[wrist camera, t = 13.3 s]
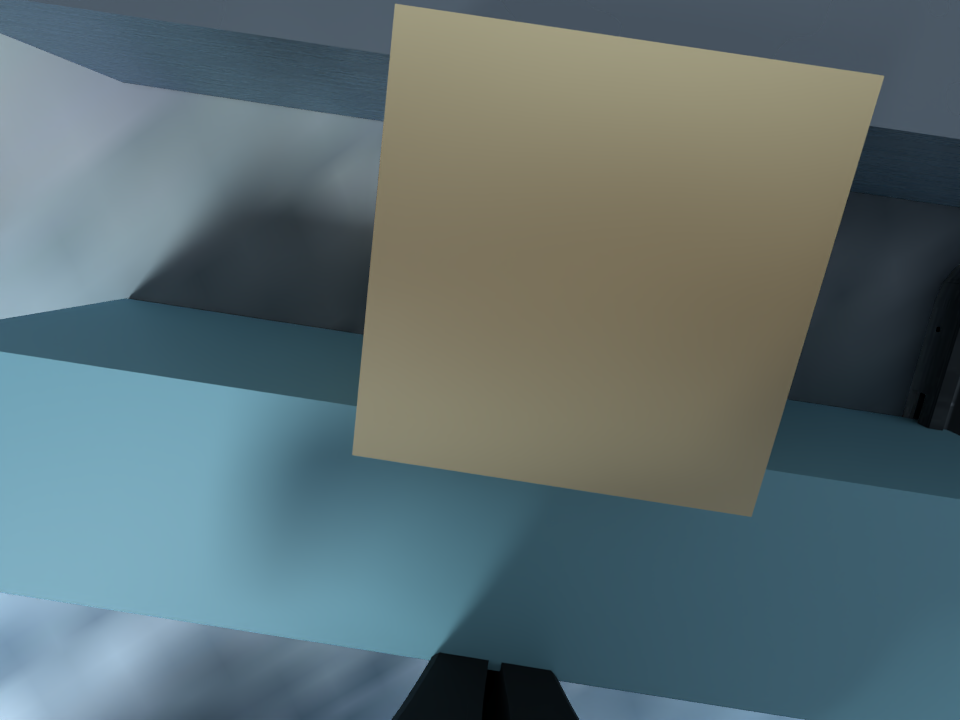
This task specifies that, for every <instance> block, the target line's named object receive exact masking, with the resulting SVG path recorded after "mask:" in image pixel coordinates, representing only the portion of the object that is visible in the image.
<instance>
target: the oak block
mask: <svg viewBox="0 0 960 720" xmlns="http://www.w3.org/2000/svg"><path fill="white" fill-rule="evenodd" d="M883 79H884V76H882V75H876V74H869V73H862V72H855V71H849V70H842V69H835V68H828V67H821V66H815V65H808V64H801V63H794V62H788V61H781V60H774V59H767V58H760V57H754V56H747V55H740V54H733V53H726V52H720V51H713V50H706V49H699V48H693V47H686V46H679V45H672V44H665V43H659V42H652V41H645V40H638V39H632V38H625V37H618V36H611V35H604V34H598V33H591V32H584V31H577V30H571V29H564V28H557V27H550V26H543V25H537V24H530V23H523V22H516V21H509V20H503V19H496V18H489V17H482V16H476V15H469V14H462V13H455V12H448V11H442V10H435V9H428V8H421V7H415V6H408V5H401V4H395V9H394V19H393V30H392V40H391V51H390V61H389V72H388V82H387V93H386V104H385V114H384V125H383V135H382V146H381V156H380V167H379V177H378V188H377V198H376V209H375V219H374V230H373V241H372V251H371V262H370V272H369V283H368V293H367V304H366V314H365V325H364V335H363V346H362V357H361V367H360V378H359V388H358V399H357V409H356V420H355V430H354V441H353V451H352V455H355V456H361V457H368V458H374V459H381V460H387V461H393V462H400V463H406V464H413V465H419V466H426V467H432V468H439V469H445V470H452V471H458V472H465V473H471V474H477V475H484V476H490V477H497V478H503V479H510V480H516V481H523V482H529V483H536V484H542V485H548V486H555V487H561V488H568V489H574V490H581V491H587V492H594V493H600V494H607V495H613V496H620V497H626V498H632V499H639V500H645V501H652V502H658V503H665V504H671V505H678V506H684V507H691V508H697V509H704V510H710V511H716V512H723V513H729V514H736V515H742V516H749V517H752V514H753V510H754V507H755V504H756V500H757V497H758V494H759V490H760V487H761V484H762V480H763V477H764V474H765V470H766V467H767V464H768V461H769V457H770V454H771V451H772V447H773V444H774V441H775V437H776V434H777V431H778V427H779V424H780V421H781V417H782V414H783V411H784V407H785V404H786V401H787V397H788V394H789V391H790V388H791V384H792V381H793V378H794V374H795V371H796V368H797V364H798V361H799V358H800V354H801V351H802V348H803V344H804V341H805V338H806V334H807V331H808V328H809V324H810V321H811V318H812V315H813V311H814V308H815V305H816V301H817V298H818V295H819V291H820V288H821V285H822V281H823V278H824V275H825V271H826V268H827V265H828V261H829V258H830V255H831V251H832V248H833V245H834V242H835V238H836V235H837V232H838V228H839V225H840V222H841V218H842V215H843V212H844V208H845V205H846V202H847V198H848V195H849V192H850V188H851V185H852V182H853V178H854V175H855V172H856V169H857V165H858V162H859V159H860V155H861V152H862V149H863V145H864V142H865V139H866V135H867V132H868V129H869V125H870V122H871V119H872V115H873V112H874V109H875V105H876V102H877V99H878V96H879V92H880V89H881V86H882V82H883Z"/></svg>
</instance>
